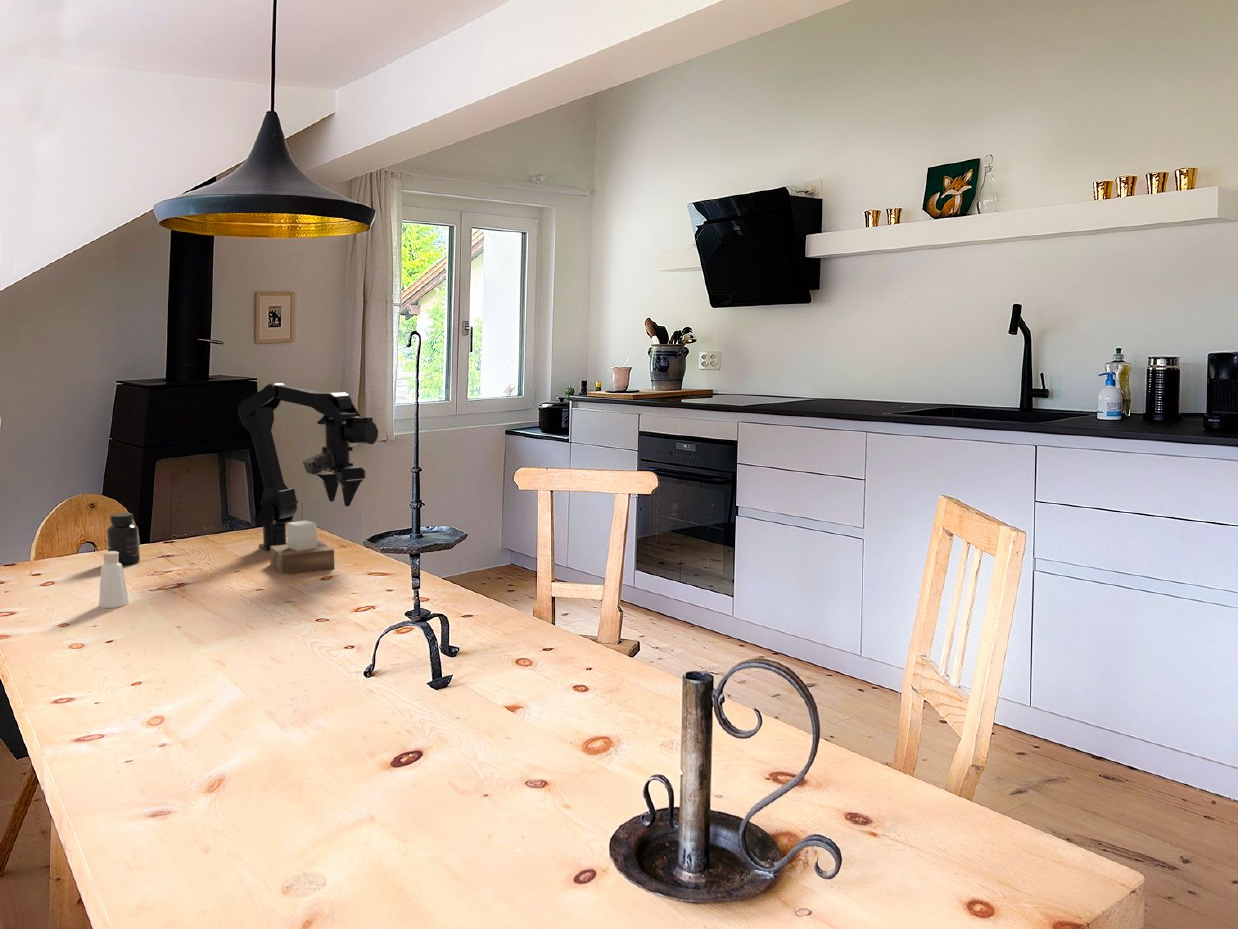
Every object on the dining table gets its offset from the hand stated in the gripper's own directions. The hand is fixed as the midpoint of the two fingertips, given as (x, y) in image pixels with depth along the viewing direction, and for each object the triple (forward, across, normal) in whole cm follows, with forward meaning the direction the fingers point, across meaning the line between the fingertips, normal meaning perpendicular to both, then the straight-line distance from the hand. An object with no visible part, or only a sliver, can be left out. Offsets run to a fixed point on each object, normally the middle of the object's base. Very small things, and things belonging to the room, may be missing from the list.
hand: (339, 503), depth 240 cm
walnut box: (+13, +7, -13) cm, 20 cm away
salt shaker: (+13, +15, -56) cm, 59 cm away
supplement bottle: (+13, -23, -45) cm, 52 cm away
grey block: (+8, +7, -13) cm, 17 cm away
